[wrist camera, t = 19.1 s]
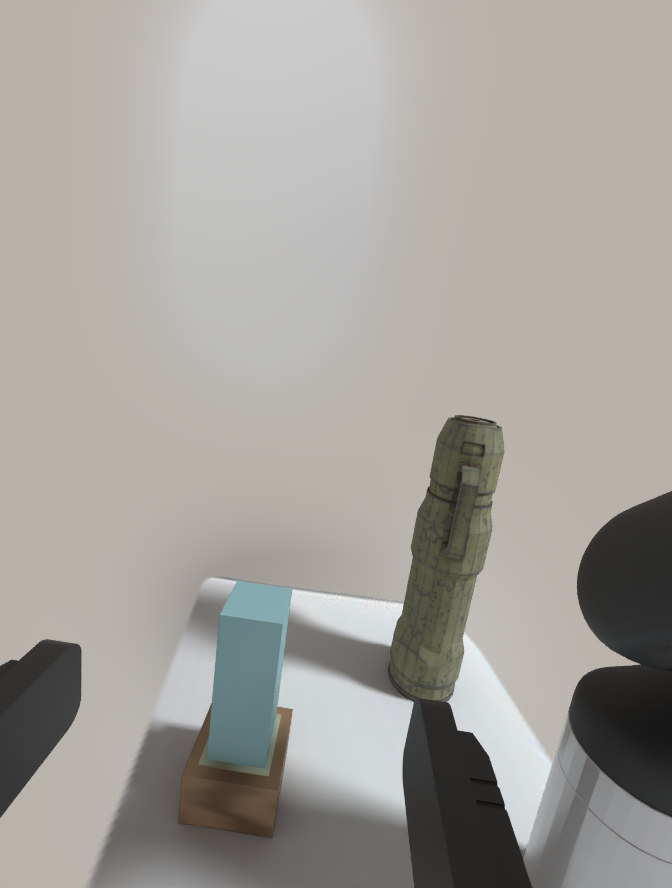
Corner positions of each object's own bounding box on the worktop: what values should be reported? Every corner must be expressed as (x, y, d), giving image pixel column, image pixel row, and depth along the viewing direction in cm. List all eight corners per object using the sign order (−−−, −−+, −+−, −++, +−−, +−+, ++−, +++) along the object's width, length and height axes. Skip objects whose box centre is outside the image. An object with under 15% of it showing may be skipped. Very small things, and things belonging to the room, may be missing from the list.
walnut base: (287, 749, 43) (292, 707, 42) (271, 837, 35) (278, 788, 34) (210, 737, 43) (214, 695, 42) (178, 822, 35) (182, 773, 34)
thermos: (390, 709, 50) (447, 421, 42) (385, 643, 61) (429, 407, 54) (464, 722, 49) (535, 434, 42) (445, 653, 61) (498, 417, 53)
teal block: (275, 718, 40) (292, 588, 37) (264, 768, 35) (282, 624, 32) (224, 710, 40) (237, 580, 37) (206, 759, 35) (219, 614, 33)
